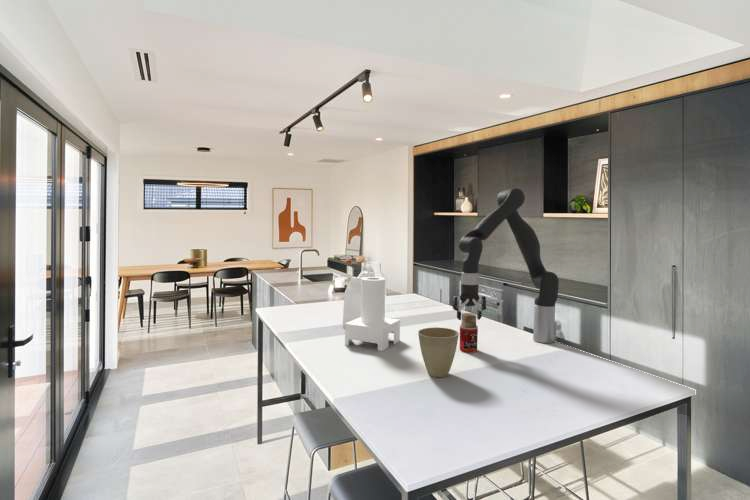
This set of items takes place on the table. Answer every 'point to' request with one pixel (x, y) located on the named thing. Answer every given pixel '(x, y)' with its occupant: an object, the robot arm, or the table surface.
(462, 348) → the canned food
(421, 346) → the plant pot
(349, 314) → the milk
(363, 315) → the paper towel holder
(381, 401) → the table surface
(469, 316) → the walnut cube
